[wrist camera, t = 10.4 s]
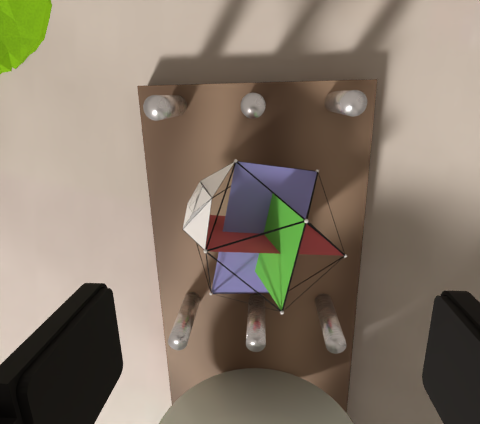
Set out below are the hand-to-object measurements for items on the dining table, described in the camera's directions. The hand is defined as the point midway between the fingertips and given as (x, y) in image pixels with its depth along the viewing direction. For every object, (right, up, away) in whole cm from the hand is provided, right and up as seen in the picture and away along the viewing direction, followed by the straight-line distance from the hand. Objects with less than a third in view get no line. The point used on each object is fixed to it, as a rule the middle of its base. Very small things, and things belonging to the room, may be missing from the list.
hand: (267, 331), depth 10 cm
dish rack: (0, -1, +13) cm, 13 cm away
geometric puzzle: (+1, +3, +10) cm, 10 cm away
